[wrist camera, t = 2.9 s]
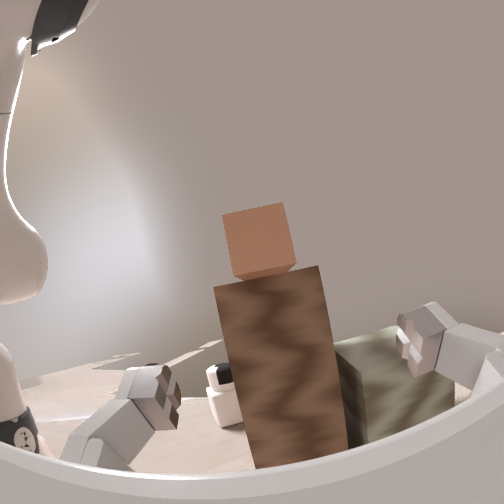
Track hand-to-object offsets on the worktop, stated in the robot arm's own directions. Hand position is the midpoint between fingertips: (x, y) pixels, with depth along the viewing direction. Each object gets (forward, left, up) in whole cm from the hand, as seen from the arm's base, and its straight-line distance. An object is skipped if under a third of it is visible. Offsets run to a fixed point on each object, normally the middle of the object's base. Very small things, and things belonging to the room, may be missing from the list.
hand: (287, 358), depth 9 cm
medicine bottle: (-12, +47, -23) cm, 53 cm away
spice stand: (+6, +25, -22) cm, 34 cm away
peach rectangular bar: (0, +21, +4) cm, 21 cm away
